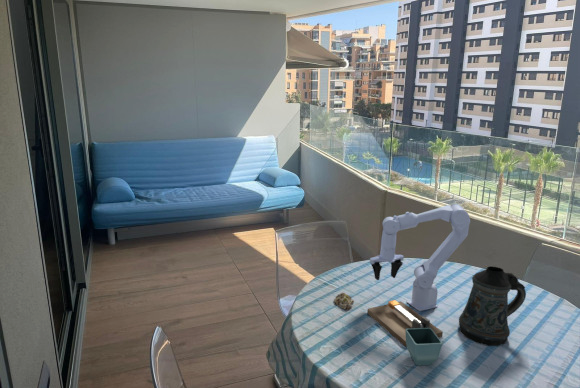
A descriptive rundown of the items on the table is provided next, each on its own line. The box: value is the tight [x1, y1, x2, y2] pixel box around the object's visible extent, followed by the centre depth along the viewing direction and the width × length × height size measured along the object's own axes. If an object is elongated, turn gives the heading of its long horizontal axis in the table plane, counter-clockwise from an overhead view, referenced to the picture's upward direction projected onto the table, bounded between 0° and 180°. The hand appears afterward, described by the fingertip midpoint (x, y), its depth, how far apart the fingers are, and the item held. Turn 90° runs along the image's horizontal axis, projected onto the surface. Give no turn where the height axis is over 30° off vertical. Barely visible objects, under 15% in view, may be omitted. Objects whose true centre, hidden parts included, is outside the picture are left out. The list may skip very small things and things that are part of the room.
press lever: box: [387, 299, 425, 328], centre depth 144 cm, size 3×17×2 cm, turn 23°
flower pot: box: [405, 328, 443, 366], centre depth 125 cm, size 9×9×9 cm
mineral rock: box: [333, 292, 355, 311], centre depth 160 cm, size 11×4×8 cm
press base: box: [366, 300, 444, 348], centre depth 145 cm, size 16×23×7 cm
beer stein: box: [458, 266, 527, 347], centre depth 139 cm, size 16×19×25 cm
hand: (385, 278), depth 160 cm, fingers open, 7 cm apart
